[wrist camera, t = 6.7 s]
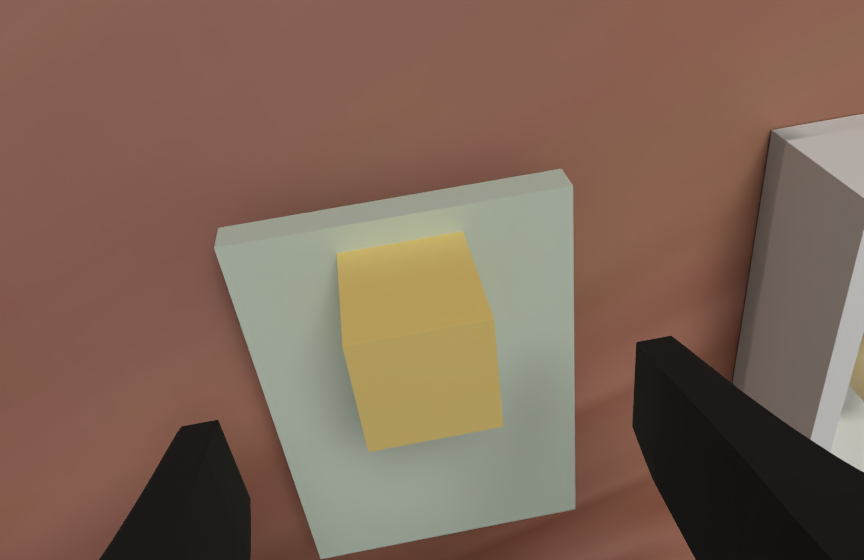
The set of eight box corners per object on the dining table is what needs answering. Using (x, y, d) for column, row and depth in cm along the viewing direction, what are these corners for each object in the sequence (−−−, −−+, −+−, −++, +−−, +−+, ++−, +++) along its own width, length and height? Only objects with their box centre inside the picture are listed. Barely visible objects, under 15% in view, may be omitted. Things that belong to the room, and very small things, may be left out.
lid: (557, 460, 22) (611, 608, 18) (319, 506, 22) (322, 667, 18) (548, 149, 16) (627, 266, 12) (222, 204, 16) (194, 344, 12)
